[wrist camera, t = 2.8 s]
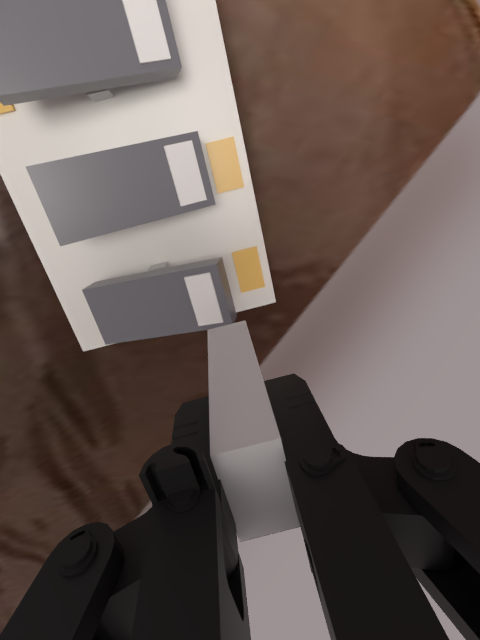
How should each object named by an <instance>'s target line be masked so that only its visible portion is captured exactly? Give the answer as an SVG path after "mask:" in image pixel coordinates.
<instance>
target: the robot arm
mask: <svg viewBox="0 0 480 640" xmlns="http://www.w3.org/2000/svg"><path fill="white" fill-rule="evenodd" d="M208 377H209V396H208V397H204V398H200V399H196V400H192V401H188V402H184V403H183V404H182V405H181V407H180V408H179V410H178V411H177V413H176V414H175V420H174V427H173V428H174V430H173V435H172V440H173V441H172V443H171V445H168V446H166V447H163V448H162V449H160V450H159V451H157V452H156V453H154V454H153V455H152V456H151V457H150V458H149V459H148V460H147V461H146V463H145V464H144V465H143V467H142V470H141V472H140V474H139V476H140V478H141V481H142V483H143V485H144V487H145V489H146V491H147V493H148V496H149V498H150V500H151V502H152V504H153V506H152V508H150V509H149V510H148V511H147V512H146V513H145V514H143V515H142V516H140V517H139V518H137V519H135V520H134V521H132V522H130V523H128V524H126V525H125V526H123V527H121V528H119V529H117V530H116V531H114V532H113V530H112V529H111V528H110V527H109V526H108V525H107V524H104V523H100V522H95V523H90V524H86V525H84V526H82V527H80V528H78V529H76V530H74V531H72V532H71V533H70V534H69V535H68V536H66V537H65V538H64V539H63V540H62V541H61V542H59V544H58V545H57V546H56V548H55V549H54V550H53V551H52V553H51V554H50V555H49V557H48V558H47V560H46V562H45V563H44V565H43V566H42V568H41V570H40V571H39V573H38V575H37V576H36V578H35V579H34V581H33V583H32V584H31V586H30V588H29V589H28V591H27V592H26V594H25V596H24V597H23V599H22V601H21V602H20V604H19V605H18V607H17V609H16V610H15V612H14V614H13V615H12V617H11V618H10V620H9V622H8V623H7V625H6V627H5V628H4V630H3V631H2V633H1V635H0V640H251V636H250V627H249V617H248V607H247V597H246V588H245V578H244V569H243V565H242V562H241V558H240V555H239V553H238V545H237V535H238V538H239V541H240V542H243V541H246V540H251V539H254V538H258V537H262V536H266V535H270V534H274V533H278V532H282V531H286V530H290V529H293V528H298V527H301V530H302V534H303V538H304V542H305V546H306V551H307V555H308V559H309V563H310V567H311V572H312V573H313V576H314V579H315V583H316V587H317V591H318V594H319V598H320V601H321V605H322V609H323V612H324V616H325V619H326V623H327V626H328V630H329V634H330V637H331V640H449V638H448V636H447V635H446V633H445V631H444V629H443V627H442V625H441V624H440V622H439V620H438V618H437V616H436V614H435V612H434V610H433V609H432V607H431V605H430V603H429V601H428V599H427V597H426V595H425V594H424V592H423V590H422V588H421V586H420V584H419V582H420V583H421V584H422V585H423V587H424V588H425V589H426V590H427V592H428V593H429V594H430V595H431V597H432V598H433V599H434V600H435V602H436V603H437V604H438V605H439V606H440V608H441V609H442V610H443V612H444V613H445V614H446V615H447V617H448V618H449V619H450V620H451V622H452V623H453V624H454V625H455V626H456V628H457V629H458V630H459V632H460V633H461V634H462V635H463V637H464V638H465V639H466V640H480V463H479V462H477V461H476V460H475V459H473V458H472V457H470V456H469V455H468V454H466V453H464V452H463V451H462V450H461V449H459V448H457V447H455V446H453V445H451V444H449V443H447V442H444V441H440V440H436V439H431V438H430V439H429V438H428V439H427V438H418V439H414V440H411V441H407V442H405V443H404V444H403V445H402V446H400V447H399V448H398V449H397V452H396V454H395V457H393V458H392V457H368V456H362V455H358V454H355V453H352V452H350V451H348V450H346V449H345V448H344V447H343V446H342V445H340V444H339V443H338V442H337V441H336V439H335V438H334V436H333V434H332V432H331V430H330V428H329V426H328V424H327V422H326V421H325V419H324V417H323V415H322V413H321V411H320V409H319V407H318V405H317V403H316V402H315V399H314V397H313V395H312V394H311V391H310V389H309V387H308V385H307V383H306V381H305V380H303V379H302V378H300V377H298V376H297V375H295V374H291V375H286V376H282V377H279V378H275V379H271V380H267V381H263V377H262V374H261V371H260V367H259V364H258V361H257V357H256V354H255V351H254V347H253V344H252V341H251V337H250V334H249V331H248V327H247V324H246V321H241V322H237V323H233V324H229V325H225V326H221V327H217V328H213V329H209V330H208ZM236 532H237V534H236ZM416 578H417V579H418V580H419V582H418V580H417V579H416Z"/></svg>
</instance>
